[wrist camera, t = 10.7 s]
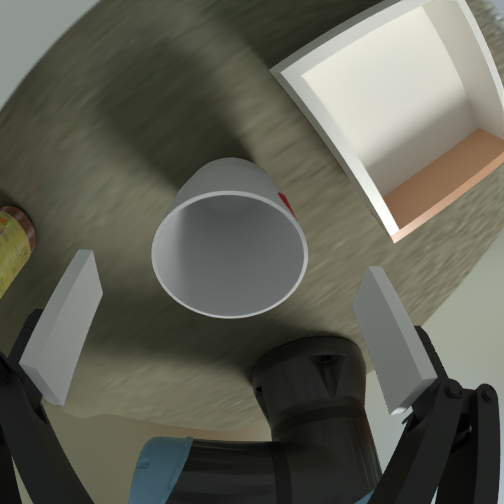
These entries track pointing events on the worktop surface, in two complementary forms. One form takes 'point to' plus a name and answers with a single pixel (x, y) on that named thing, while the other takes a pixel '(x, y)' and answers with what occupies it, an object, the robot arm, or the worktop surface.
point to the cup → (229, 242)
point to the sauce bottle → (14, 244)
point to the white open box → (403, 105)
